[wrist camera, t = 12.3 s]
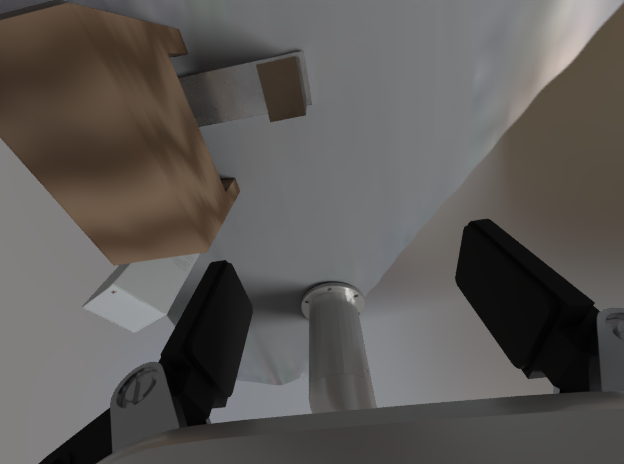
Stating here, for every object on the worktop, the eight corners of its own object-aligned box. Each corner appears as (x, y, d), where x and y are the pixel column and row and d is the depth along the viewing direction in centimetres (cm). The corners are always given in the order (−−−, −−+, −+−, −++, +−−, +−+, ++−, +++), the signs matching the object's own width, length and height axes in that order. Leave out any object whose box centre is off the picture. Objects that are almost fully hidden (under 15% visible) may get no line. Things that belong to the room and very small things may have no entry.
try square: (312, 103, 28) (312, 120, 20) (121, 141, 31) (53, 170, 22) (303, 50, 25) (300, 45, 17) (94, 96, 28) (4, 111, 20)
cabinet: (240, 191, 34) (207, 252, 23) (174, 201, 35) (113, 265, 24) (174, 19, 24) (57, -19, 13) (83, 40, 25) (-100, 24, 14)
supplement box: (137, 243, 40) (77, 307, 30) (165, 222, 37) (111, 283, 27) (175, 270, 43) (132, 335, 33) (202, 252, 41) (167, 316, 31)
